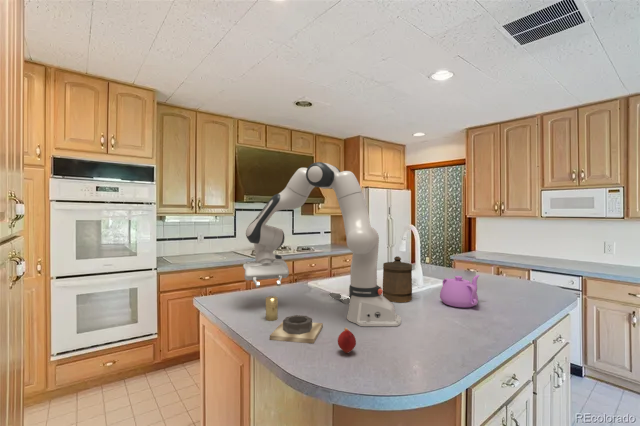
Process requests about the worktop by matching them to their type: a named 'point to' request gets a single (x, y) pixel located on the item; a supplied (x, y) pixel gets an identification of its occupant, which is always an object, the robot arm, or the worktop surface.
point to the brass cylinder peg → (271, 308)
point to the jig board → (297, 330)
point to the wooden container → (397, 281)
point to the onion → (346, 341)
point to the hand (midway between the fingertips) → (268, 286)
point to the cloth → (338, 296)
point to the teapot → (459, 292)
